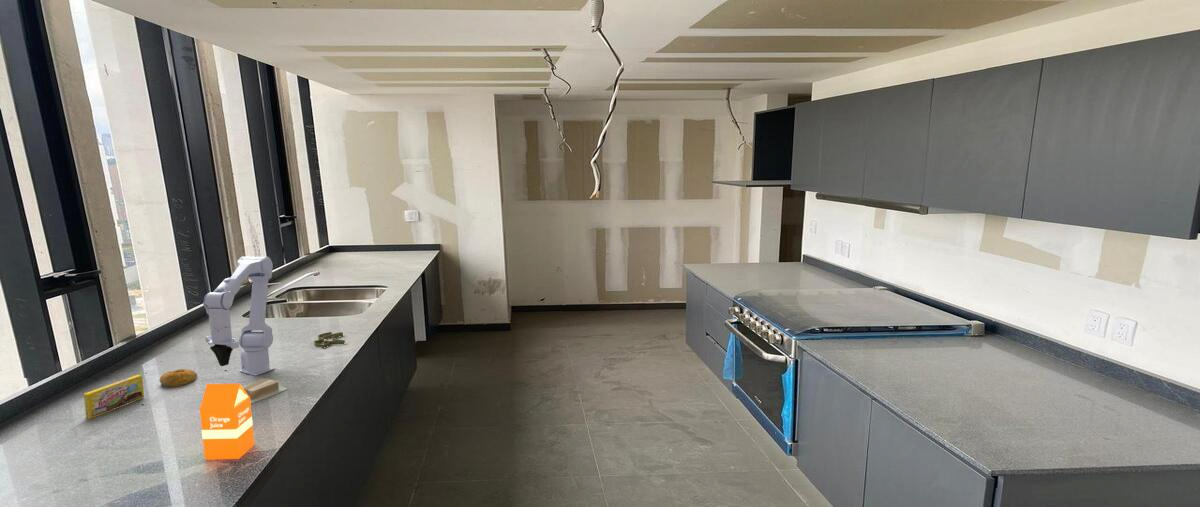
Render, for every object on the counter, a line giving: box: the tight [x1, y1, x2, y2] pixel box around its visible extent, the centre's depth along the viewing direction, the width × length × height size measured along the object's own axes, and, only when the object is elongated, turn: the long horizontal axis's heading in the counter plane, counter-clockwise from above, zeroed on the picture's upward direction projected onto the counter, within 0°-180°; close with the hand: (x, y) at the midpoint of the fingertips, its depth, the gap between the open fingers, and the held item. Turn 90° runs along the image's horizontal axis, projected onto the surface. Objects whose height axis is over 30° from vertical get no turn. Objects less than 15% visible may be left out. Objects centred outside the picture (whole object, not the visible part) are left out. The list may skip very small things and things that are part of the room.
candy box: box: [83, 374, 145, 419], centre depth 171 cm, size 16×2×8 cm, turn 168°
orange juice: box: [199, 383, 255, 460], centre depth 146 cm, size 8×9×20 cm
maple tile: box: [241, 377, 279, 400], centre depth 184 cm, size 3×9×7 cm
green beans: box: [313, 331, 346, 349], centre depth 239 cm, size 18×12×2 cm, turn 28°
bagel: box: [159, 368, 198, 387], centre depth 192 cm, size 10×11×5 cm
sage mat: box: [250, 385, 288, 405], centre depth 184 cm, size 8×13×1 cm, turn 156°
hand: (224, 364), depth 182 cm, fingers closed
